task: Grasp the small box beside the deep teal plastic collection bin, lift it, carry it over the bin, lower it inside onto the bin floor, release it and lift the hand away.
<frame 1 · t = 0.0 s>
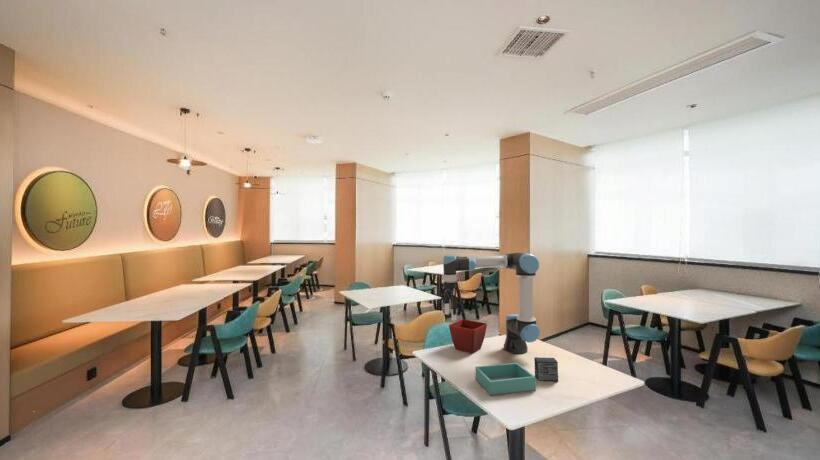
hand: (450, 317, 197), 28 cm above the table, fingers open, 13 cm apart
plant pot: (468, 349, 221), on the table
small box: (546, 379, 176), on the table
collection bin: (504, 385, 169), on the table
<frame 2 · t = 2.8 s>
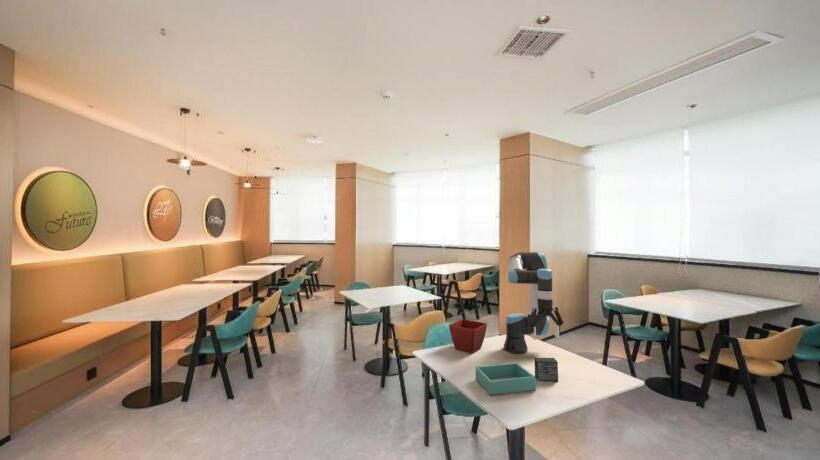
hand: (545, 338, 176), 22 cm above the table, fingers open, 13 cm apart
nothing on the table moved.
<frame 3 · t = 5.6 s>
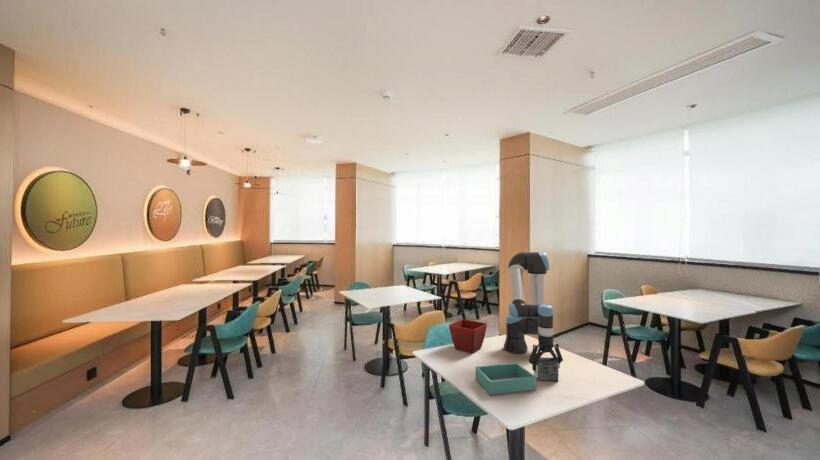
hand: (546, 375, 176), 2 cm above the table, fingers closed on small box, 11 cm apart
small box: (546, 379, 176), on the table, touching gripper
everything else where it was.
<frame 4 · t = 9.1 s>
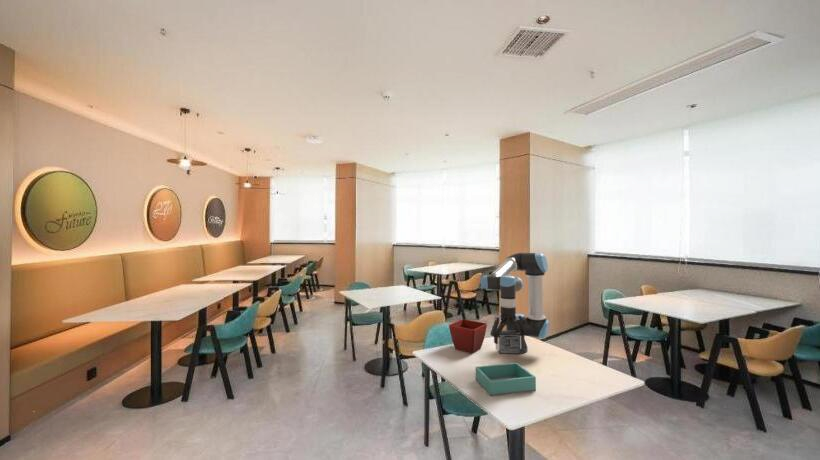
hand: (508, 348, 170), 18 cm above the table, fingers closed on small box, 11 cm apart
small box: (508, 352, 170), point 17 cm above the table, touching gripper
everything else where it was.
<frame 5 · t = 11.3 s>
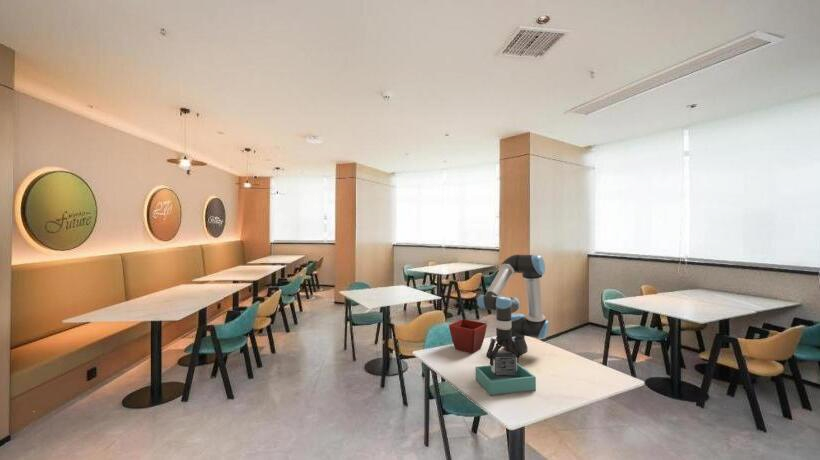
hand: (504, 370, 169), 8 cm above the table, fingers closed on small box, 11 cm apart
small box: (504, 374, 169), point 6 cm above the table, touching gripper
everything else where it was.
when the fingers open (4 cm above the table, at t = 13.1 s): small box drops 1 cm, resting on collection bin.
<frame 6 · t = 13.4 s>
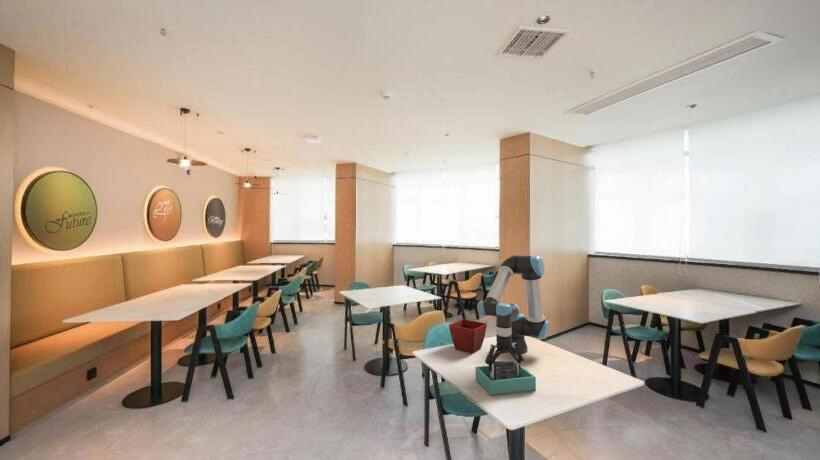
hand: (504, 376, 169), 5 cm above the table, fingers open, 13 cm apart
small box: (504, 383, 169), point 1 cm above the table, touching collection bin
everything else where it was.
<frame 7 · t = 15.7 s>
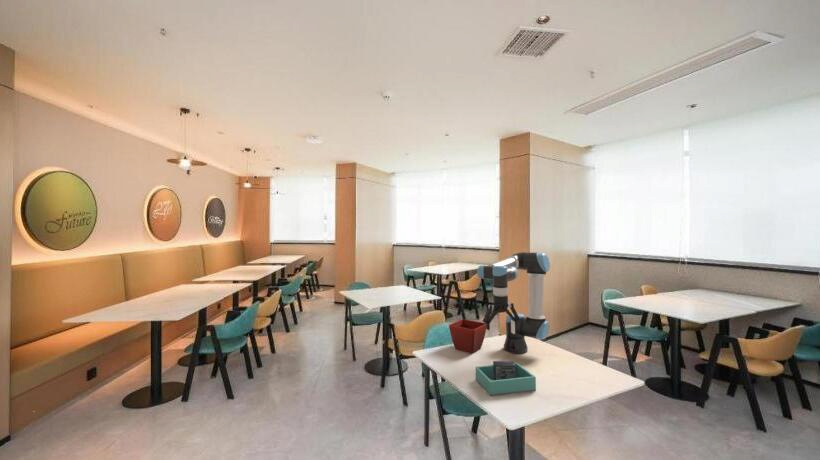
hand: (501, 334, 177), 24 cm above the table, fingers open, 13 cm apart
nothing on the table moved.
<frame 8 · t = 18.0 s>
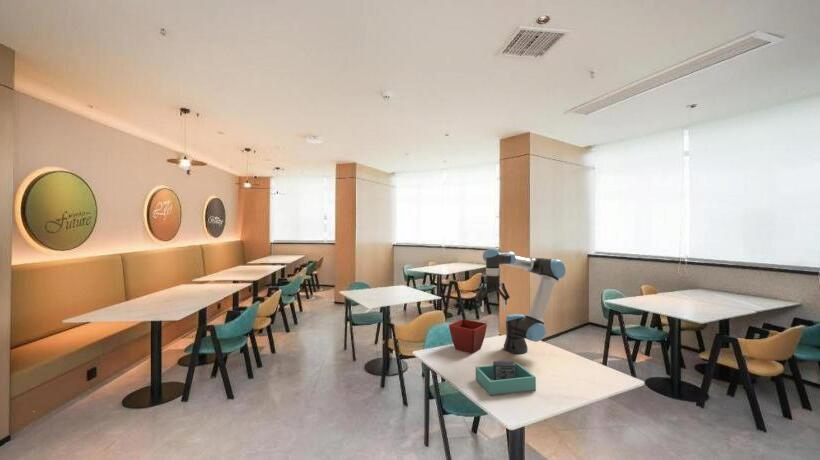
hand: (493, 311, 195), 32 cm above the table, fingers open, 13 cm apart
nothing on the table moved.
at the end: small box inside the target area on the collection bin (0.1 cm from its centre), point 0.8 cm above the collection bin's base; small box tilted 0°; the gripper is holding nothing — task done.
